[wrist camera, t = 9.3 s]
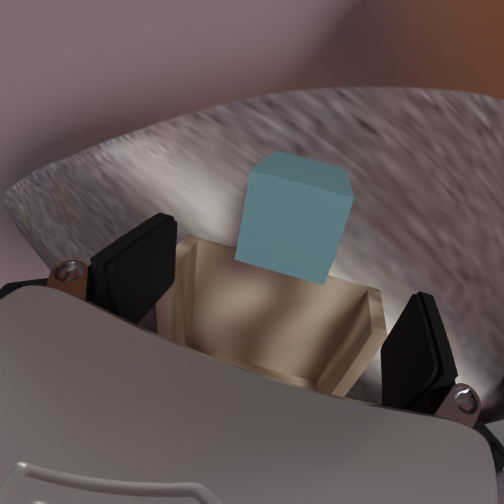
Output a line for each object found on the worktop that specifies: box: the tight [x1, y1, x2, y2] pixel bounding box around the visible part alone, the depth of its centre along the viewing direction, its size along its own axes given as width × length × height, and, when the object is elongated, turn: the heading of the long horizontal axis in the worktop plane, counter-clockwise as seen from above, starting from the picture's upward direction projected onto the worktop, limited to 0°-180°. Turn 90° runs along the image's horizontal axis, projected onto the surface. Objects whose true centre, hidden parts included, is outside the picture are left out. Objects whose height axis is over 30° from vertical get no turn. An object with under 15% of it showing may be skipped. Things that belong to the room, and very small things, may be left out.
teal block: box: [235, 151, 354, 285], centre depth 17 cm, size 5×5×7 cm
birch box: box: [156, 235, 387, 397], centre depth 24 cm, size 17×14×6 cm
